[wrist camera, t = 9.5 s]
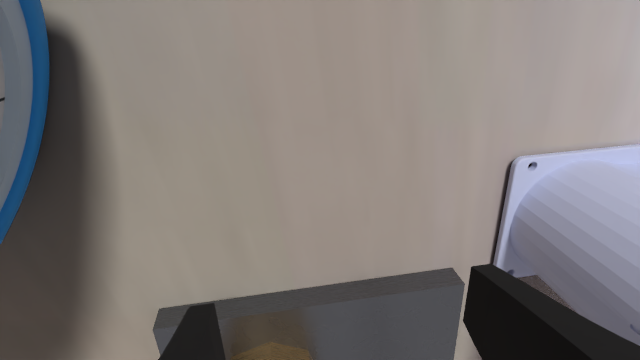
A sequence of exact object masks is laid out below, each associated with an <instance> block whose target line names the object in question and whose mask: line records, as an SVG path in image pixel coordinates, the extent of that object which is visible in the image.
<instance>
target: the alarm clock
mask: <svg viewBox="0 0 640 360" xmlns="http://www.w3.org/2000/svg"><path fill="white" fill-rule="evenodd" d="M48 94H49V48H48V37H47V30H46V24H45V19H44V14H43V9H42V5H41V2H40V0H0V244H1V243H2V241H3V239H4V237H5V235H6V233H7V232H8V230H9V228H10V226H11V224H12V222H13V220H14V218H15V215H16V213H17V211H18V209H19V207H20V204H21V202H22V200H23V197H24V195H25V192H26V189H27V187H28V184H29V181H30V178H31V176H32V173H33V170H34V166H35V163H36V159H37V156H38V152H39V148H40V144H41V140H42V135H43V130H44V125H45V119H46V113H47V104H48Z"/></svg>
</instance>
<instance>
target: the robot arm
mask: <svg viewBox="0 0 640 360" xmlns="http://www.w3.org/2000/svg"><path fill="white" fill-rule="evenodd" d="M530 163H532V165H531V166H530V167H529V168H528V166H529V164H530ZM507 271H508V272H507ZM532 275H538V276H539V277H540V278H541V279H542V280H543V281H544V282H545V283H546V284H547V285H548V286H549V287H550V288H551V289H552V290H553V291H555V292H556V293H557V294H558V295H559V296H560V297H561V298H562V299H563V300H564V301H565V302H566V303H567V304H568V305H569V306H570V307H571V308H572V309H574V310H575V311H576V312H577V313H576V312H574V311H572V310H570V309H569V308H567V307H565V306H563V305H562V304H560V303H558V302H556V301H555V300H553V299H551V298H550V297H548V296H546V295H545V294H543V293H541V292H539V291H538V290H536V289H534V288H533V287H531V286H529V285H528V284H526V283H524V282H523V281H521V280H519V279H517V278H519V277H525V276H532ZM463 322H464V324H465V326H466V328H467V330H468V332H469V334H470V336H471V339H472V341H473V343H474V345H475V346H476V348H477V350H478V352H479V354H480V356H481V358H482V359H483V360H640V144H635V145H625V146H616V147H606V148H596V149H587V150H577V151H567V152H558V153H548V154H538V155H529V156H521V157H518V158H516V159H515V160H514V161H513V162H512V165H511V170H510V175H509V181H508V186H507V192H506V197H505V203H504V208H503V214H502V219H501V225H500V230H499V235H498V241H497V246H496V252H495V257H494V263H493V264H487V265H479V266H472V267H471V272H470V279H469V285H468V292H467V298H466V305H465V311H464V318H463ZM158 360H226V358H225V353H224V348H223V343H222V338H221V333H220V329H219V324H218V319H217V314H216V309H215V304H214V303H209V304H202V305H195V306H190V307H189V308H188V309H187V311H186V313H185V315H184V316H183V318H182V320H181V322H180V324H179V325H178V327H177V329H176V331H175V333H174V334H173V336H172V338H171V339H170V341H169V343H168V345H167V346H166V348H165V350H164V351H163V353H162V354H161V356H160V358H159V359H158Z"/></svg>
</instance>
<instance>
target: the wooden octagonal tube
mask: <svg viewBox="0 0 640 360" xmlns="http://www.w3.org/2000/svg"><path fill="white" fill-rule="evenodd" d="M230 360H313V359H312V357H311V355H310V353H309V351H308V350H304V349H300V348H295V347H291V346H287V345H282V344H278V343H274V342H269V343H266V344H263V345H261V346H258V347H256V348H253V349H250V350H248V351H245V352H242V353H240V354H237V355H235V356H232V357H231V358H230Z"/></svg>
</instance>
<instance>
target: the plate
mask: <svg viewBox="0 0 640 360" xmlns="http://www.w3.org/2000/svg"><path fill="white" fill-rule="evenodd" d="M464 285H465V284H464V282H463V281H462V280H461V279H460V277H459V276H458V275H457V273H456V272H455V271H454V269H453V268H447V269H440V270H433V271H426V272H419V273H411V274H404V275H397V276H390V277H383V278H376V279H369V280H362V281H354V282H347V283H340V284H333V285H326V286H319V287H312V288H304V289H297V290H290V291H283V292H276V293H269V294H262V295H255V296H247V297H240V298H233V299H226V300H219V301H212V302H205V303H197V304H190V305H183V306H176V307H169V308H162V309H159V311H158V314H157V318H156V321H155V324H154V327H153V332H154V335H155V339H156V342H157V345H158V349H159V352H160V355H161V354H162V353H163V351H164V350H165V348H166V346H167V345H168V343H169V341H170V339H171V338H172V336H173V334H174V333H175V331H176V329H177V327H178V325H179V324H180V322H181V320H182V318H183V316H184V315H185V313H186V311H187V309H188V308H189V307H190V306H195V305H202V304H209V303H214V304H215V309H216V314H217V319H218V324H219V329H220V333H221V338H222V343H223V348H224V353H225V358H226V360H230V358H231V357H232V356H235V355H237V354H240V353H242V352H245V351H248V350H250V349H253V348H256V347H258V346H261V345H263V344H266V343H269V342H274V343H278V344H282V345H287V346H291V347H295V348H300V349H304V350H308V351H309V353H310V355H311V357H312V359H313V360H453V359H454V352H455V346H456V339H457V332H458V325H459V319H460V312H461V305H462V299H463V292H464Z"/></svg>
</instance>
